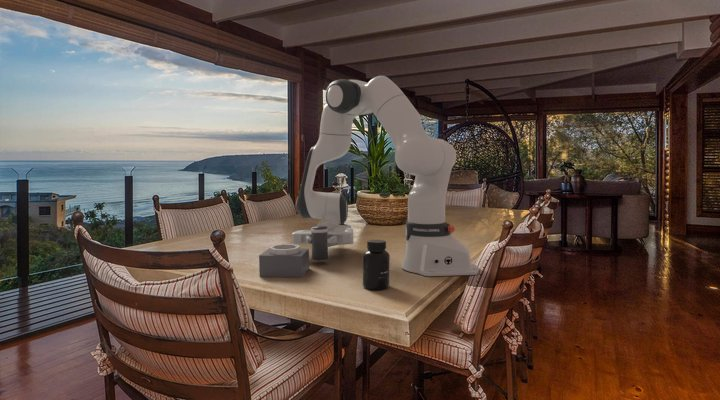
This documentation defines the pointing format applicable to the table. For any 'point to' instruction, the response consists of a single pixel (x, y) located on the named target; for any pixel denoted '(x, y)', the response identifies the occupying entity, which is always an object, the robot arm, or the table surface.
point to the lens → (319, 242)
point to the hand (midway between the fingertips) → (319, 241)
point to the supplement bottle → (376, 266)
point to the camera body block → (284, 261)
